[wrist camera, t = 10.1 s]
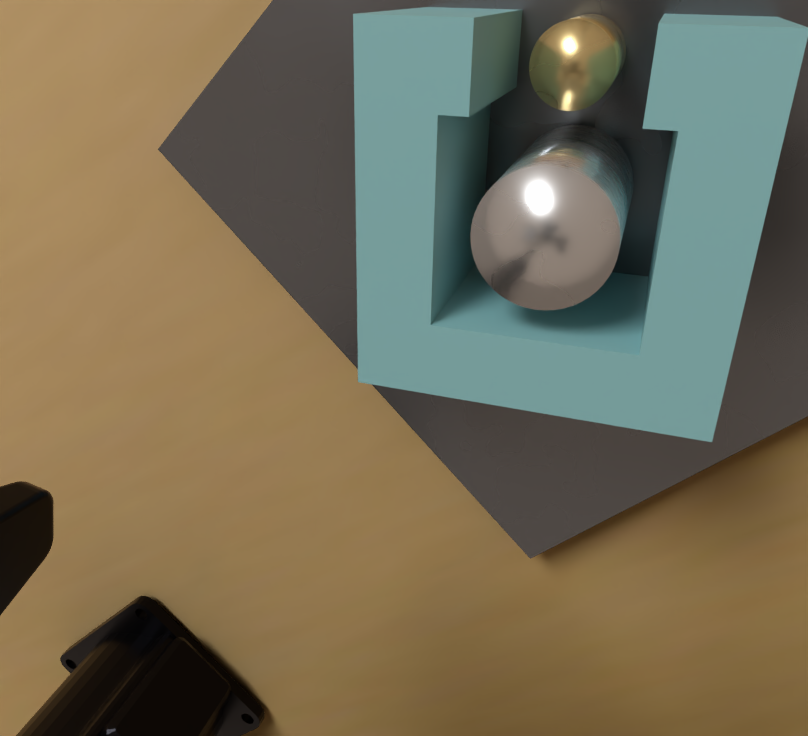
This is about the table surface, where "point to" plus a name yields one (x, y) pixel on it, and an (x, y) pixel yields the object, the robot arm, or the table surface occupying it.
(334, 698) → the table surface
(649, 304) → the teal u-channel block
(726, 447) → the base plate
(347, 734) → the table surface
